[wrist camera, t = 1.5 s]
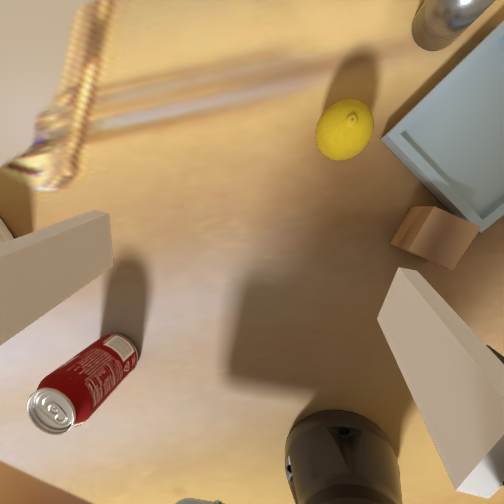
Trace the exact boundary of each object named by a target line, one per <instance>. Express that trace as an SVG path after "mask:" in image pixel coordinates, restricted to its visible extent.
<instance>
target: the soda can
mask: <svg viewBox="0 0 504 504" xmlns="http://www.w3.org/2000/svg"><path fill="white" fill-rule="evenodd" d="M137 361H138V354H137V350H136V348H135V346H134V345H133V343H132V342H131V341H130V340H129V339H128V338H126V337H125V336H123V335H120V334H114V333H112V334H107V335H104V336H103V337H101V338H100V339H98V340H97V341H96V342H94V343H93V344H91V345H90V346H89V347H87V348H86V349H84V350H83V351H82V352H80V353H79V354H77V355H76V356H74V357H73V358H72V359H70V360H69V361H67V362H66V363H65V364H63V365H62V366H60V367H59V368H58V369H56V370H55V371H53V372H52V373H51V374H49V375H48V376H46V377H45V378H44V379H43V380H42V381H41V382H40V384H39V386H38V388H37V391H35V392H34V393H33V394H32V395H31V396H30V398H29V400H28V403H27V410H28V414H29V417H30V419H31V420H32V422H33V423H34V424H35V426H36V427H38V428H39V429H40V430H42V431H43V432H45V433H48V434H51V435H61V434H64V433H66V432H67V431H69V430H70V429H71V428H72V427H76V426H78V425H81V424H82V423H84V422H85V421H86V420H87V419H88V418H89V417H90V416H91V415H92V414H93V413H94V412H95V411H96V409H97V408H98V407H99V406H100V405H101V404H102V403H103V402H104V401H105V400H106V399H107V398H108V397H109V396H110V394H111V393H112V392H113V391H114V390H115V389H116V388H117V387H118V386H119V385H120V384H121V383H122V382H123V381H124V379H125V378H126V377H127V376H128V375H129V374H130V373H131V372H132V371H133V370H134V369H135V367H136V365H137Z"/></svg>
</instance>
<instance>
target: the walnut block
mask: <svg viewBox="0 0 504 504" xmlns="http://www.w3.org/2000/svg"><path fill="white" fill-rule="evenodd" d="M480 228H481V227H479V226H477V225H475V224H473V223H471V222H468V221H466V220H464V219H462V218H460V217H457V216H455V215H453V214H451V213H448V212H446V211H444V210H442V209H440V208H437V207H435V206H411V208H410V210H409V212H408V213H407V215H406V217H405V218H404V220H403V222H402V224H401V225H400V227H399V229H398V230H397V232H396V234H395V236H394V237H393V239H392V241H391V243H390V244H391V245H393V246H395V247H398V248H400V249H402V250H404V251H406V252H408V253H411V254H413V255H415V256H417V257H419V258H421V259H424V260H426V261H428V262H431V263H433V264H436V265H438V266H441V267H443V268H446V269H449V270H451V271H453V270H454V268H455V267H456V265H457V264H458V262H459V261H460V259H461V258H462V256H463V254H464V253H465V251H466V250H467V248H468V247H469V245H470V244H471V242H472V241H473V239H474V238H475V236H476V235H477V233H478V231H479V230H480Z"/></svg>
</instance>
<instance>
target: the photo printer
mask: <svg viewBox="0 0 504 504" xmlns="http://www.w3.org/2000/svg"><path fill="white" fill-rule="evenodd" d="M13 239H14V237H13V236H12V234H11V233H10V231H9V230H8V228H7V227H6V225H5V224H4V223H3V221H2V220H1V219H0V244H1V243H4V242H7V241H10V240H13Z"/></svg>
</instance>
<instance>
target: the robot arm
mask: <svg viewBox="0 0 504 504" xmlns="http://www.w3.org/2000/svg"><path fill="white" fill-rule="evenodd" d="M112 266H114V263H113V252H112V240H111V229H110V217H109V213H106V212H100V211H95V210H93V211H90V212H88V213H85V214H82V215H79V216H77V217H74V218H71V219H68V220H65V221H63V222H60V223H57V224H54V225H52V226H49V227H46V228H43V229H40V230H38V231H35V232H32V233H29V234H26V235H24V236H21V237H18V238H15V239H13V240H10V241H7V242H4V243H1V244H0V345H2V344H3V343H5V342H6V341H7V340H9V339H10V338H12V337H13V336H14V335H16V334H17V333H19V332H20V331H22V330H23V329H24V328H26V327H27V326H29V325H30V324H31V323H33V322H34V321H36V320H37V319H39V318H40V317H41V316H43V315H44V314H46V313H47V312H48V311H50V310H51V309H53V308H54V307H56V306H57V305H58V304H60V303H61V302H63V301H64V300H65V299H67V298H68V297H70V296H71V295H73V294H74V293H75V292H77V291H78V290H80V289H81V288H83V287H84V286H85V285H87V284H88V283H90V282H91V281H92V280H94V279H95V278H97V277H98V276H100V275H101V274H102V273H104V272H105V271H107V270H108V269H109V268H111V267H112ZM377 320H378V322H379V325H380V327H381V329H382V331H383V333H384V336H385V338H386V340H387V342H388V344H389V346H390V349H391V351H392V353H393V355H394V357H395V360H396V362H397V364H398V366H399V368H400V371H401V373H402V375H403V377H404V379H405V381H406V384H407V386H408V388H409V390H410V392H411V395H412V397H413V399H414V401H415V403H416V405H417V408H418V410H419V412H420V414H421V416H422V419H423V421H424V423H425V425H426V427H427V430H428V432H429V434H430V436H431V438H432V440H433V443H434V445H435V447H436V449H437V451H438V454H439V456H440V458H441V460H442V462H443V465H444V467H445V469H446V471H447V473H448V475H449V478H450V480H451V482H452V484H453V486H454V489H455V491H459V492H463V493H467V494H471V495H475V496H479V497H483V498H487V499H489V498H490V497H491V496H492V495H493V494H494V493H495V492H496V491H497V490H498V489H499V488H500V487H501V486H502V485H504V357H503V356H502V355H501V354H499V353H498V352H497V351H495V350H494V349H492V348H491V347H490V346H488V345H485V344H484V342H483V341H482V340H481V339H480V338H479V337H478V336H477V335H476V334H475V333H474V332H473V331H472V330H471V328H470V327H469V326H468V325H467V324H466V323H465V322H464V321H463V320H462V319H461V318H460V317H459V315H458V314H457V313H456V312H455V311H454V310H453V309H452V308H451V307H450V306H449V305H448V304H447V303H446V301H445V300H444V299H443V298H442V297H441V296H440V295H439V294H438V293H437V292H436V291H435V290H434V288H433V287H432V286H431V285H430V284H429V283H428V282H427V281H426V280H425V279H424V278H423V277H422V276H421V274H420V273H419V272H418V271H416V270H411V269H406V268H400V267H398V269H397V272H396V274H395V277H394V279H393V281H392V284H391V286H390V289H389V291H388V293H387V296H386V298H385V301H384V303H383V305H382V308H381V310H380V312H379V315H378V317H377ZM285 470H286V475H287V479H288V482H289V485H290V488H291V492H292V495H293V498H294V501H295V504H402V494H401V484H400V471H399V465H398V461H397V458H396V456H395V453H394V451H393V449H392V446H391V444H390V442H389V440H388V438H387V437H386V435H385V434H384V433H383V431H382V430H381V429H380V428H379V427H378V426H377V425H375V424H374V423H373V422H371V421H370V420H368V419H366V418H364V417H362V416H360V415H357V414H355V413H351V412H346V411H335V410H334V411H324V412H319V413H316V414H313V415H311V416H308V417H307V418H305V419H303V420H302V421H301V422H299V423H298V424H297V425H296V426H295V427H294V428H293V430H292V431H291V433H290V434H289V436H288V439H287V442H286V446H285ZM176 504H224V503H222V502H221V501H219V500H216V501H215V502H212V501H206V500H200V499H194V498H185V499H182V500H180V501H178V502H177V503H176Z"/></svg>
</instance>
